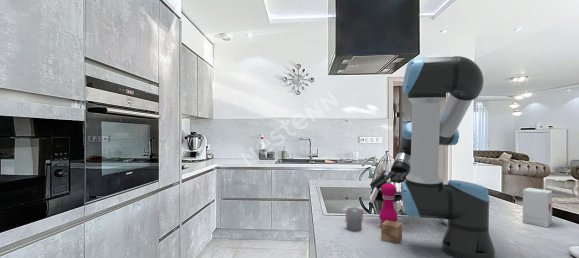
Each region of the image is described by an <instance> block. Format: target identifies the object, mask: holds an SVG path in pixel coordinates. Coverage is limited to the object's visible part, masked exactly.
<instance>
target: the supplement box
mask: <svg viewBox="0 0 579 258" xmlns="http://www.w3.org/2000/svg"><path fill="white" fill-rule="evenodd" d="M522 223H524V224H529V225H535V226H539V227H545V228H549V227H550V226H551V225H552V223H553V191H552V190H549V189H541V188H534V187H527V188H524V189H523V190H522Z"/></svg>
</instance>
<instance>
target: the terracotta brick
mask: <svg viewBox="0 0 579 258" xmlns="http://www.w3.org/2000/svg"><path fill="white" fill-rule="evenodd" d="M354 208H357V207H354ZM358 208H359V207H358ZM359 209H361V210H362V221H364V209H363V208H359ZM345 222H346V223H347V209H346V210H345Z"/></svg>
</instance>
